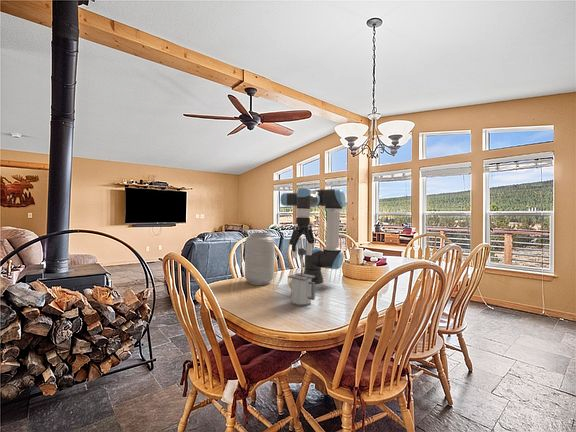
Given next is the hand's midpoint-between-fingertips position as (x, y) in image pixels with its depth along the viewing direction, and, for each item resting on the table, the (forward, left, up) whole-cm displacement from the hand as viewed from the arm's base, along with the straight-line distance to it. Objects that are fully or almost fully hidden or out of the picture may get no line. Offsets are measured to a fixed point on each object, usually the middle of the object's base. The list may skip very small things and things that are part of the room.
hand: (302, 256), depth 162 cm
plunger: (0, 0, -13) cm, 13 cm away
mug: (-16, -12, -26) cm, 33 cm away
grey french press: (0, +1, -25) cm, 26 cm away
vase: (-17, -47, -26) cm, 56 cm away
